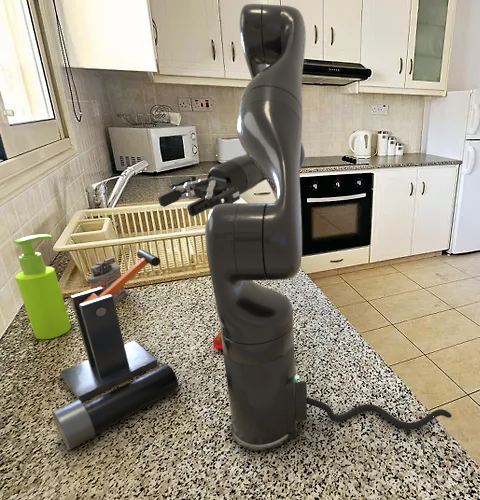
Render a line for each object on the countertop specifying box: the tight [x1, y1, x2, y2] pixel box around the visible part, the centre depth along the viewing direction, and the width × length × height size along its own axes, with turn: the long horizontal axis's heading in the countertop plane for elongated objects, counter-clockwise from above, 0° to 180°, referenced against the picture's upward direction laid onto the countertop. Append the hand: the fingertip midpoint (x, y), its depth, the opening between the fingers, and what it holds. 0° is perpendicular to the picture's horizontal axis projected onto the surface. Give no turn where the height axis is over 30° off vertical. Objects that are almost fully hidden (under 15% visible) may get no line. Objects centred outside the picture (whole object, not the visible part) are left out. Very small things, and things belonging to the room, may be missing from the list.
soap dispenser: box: [13, 233, 72, 340], centre depth 73 cm, size 6×7×20 cm
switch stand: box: [59, 287, 158, 403], centre depth 62 cm, size 12×9×15 cm
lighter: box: [86, 256, 127, 304], centre depth 86 cm, size 8×3×10 cm, turn 168°
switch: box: [79, 249, 161, 307], centre depth 63 cm, size 13×6×2 cm
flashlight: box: [51, 363, 179, 451], centre depth 55 cm, size 15×6×6 cm, turn 141°
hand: (174, 206), depth 71 cm, fingers open, 8 cm apart
